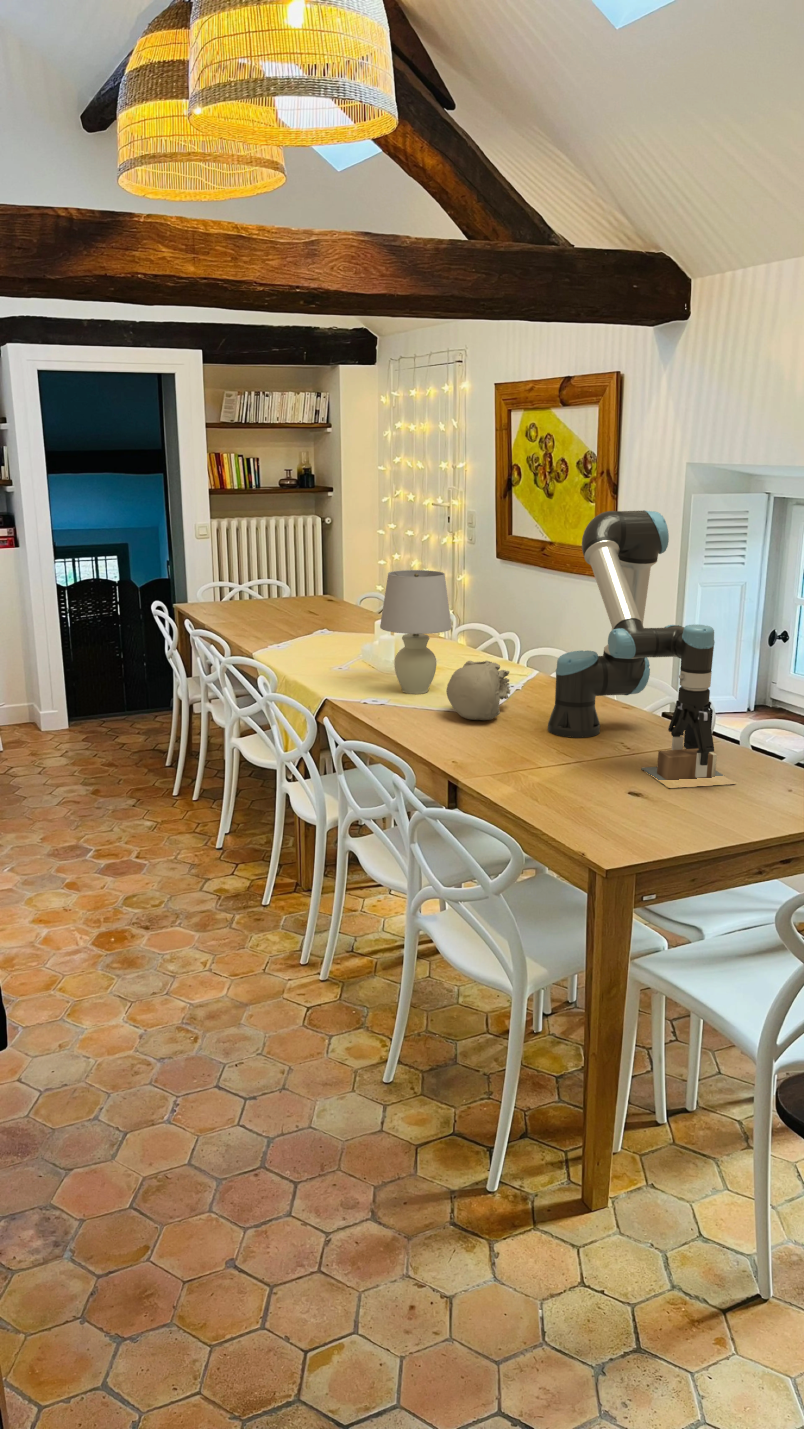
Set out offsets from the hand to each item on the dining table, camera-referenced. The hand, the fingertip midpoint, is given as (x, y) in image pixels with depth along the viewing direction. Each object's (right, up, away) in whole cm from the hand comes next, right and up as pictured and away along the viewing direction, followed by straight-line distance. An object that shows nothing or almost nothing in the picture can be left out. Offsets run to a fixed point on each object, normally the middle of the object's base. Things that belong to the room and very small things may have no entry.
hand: (688, 768), depth 271 cm
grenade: (+8, +3, +23) cm, 25 cm away
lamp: (-68, +21, +91) cm, 115 cm away
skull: (-49, +13, +59) cm, 78 cm away
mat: (0, -2, +1) cm, 2 cm away
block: (-7, +1, -2) cm, 7 cm away
